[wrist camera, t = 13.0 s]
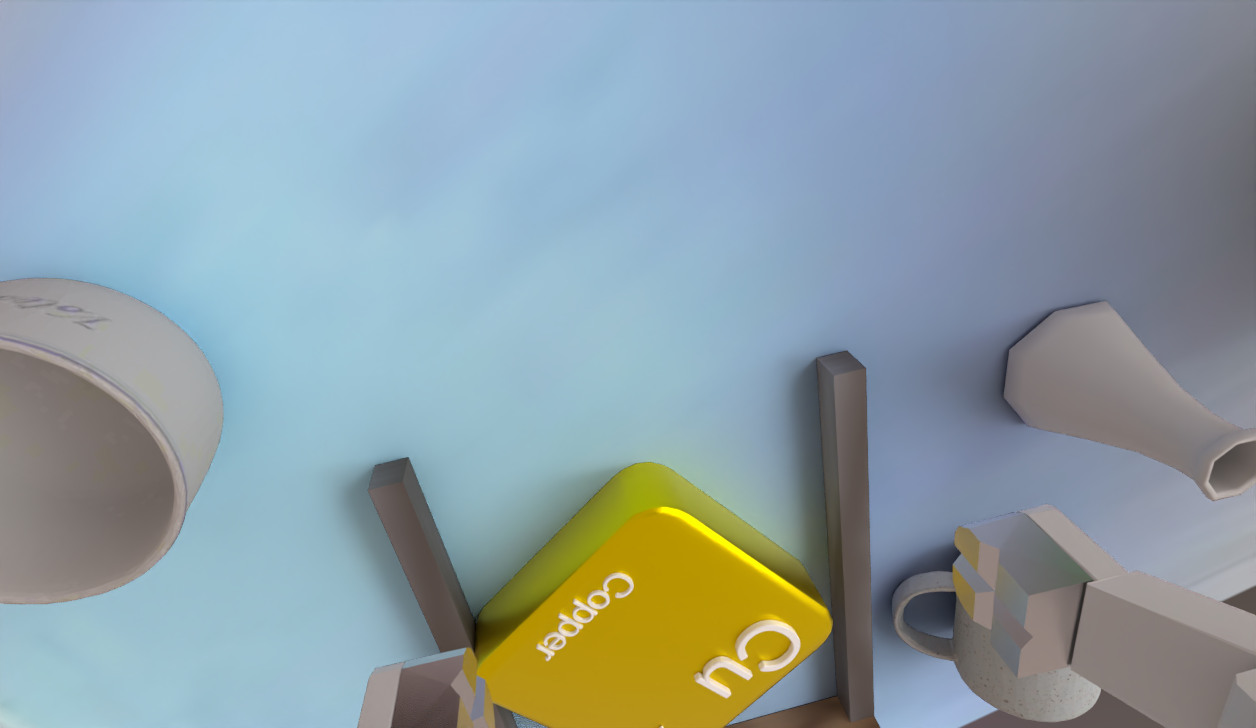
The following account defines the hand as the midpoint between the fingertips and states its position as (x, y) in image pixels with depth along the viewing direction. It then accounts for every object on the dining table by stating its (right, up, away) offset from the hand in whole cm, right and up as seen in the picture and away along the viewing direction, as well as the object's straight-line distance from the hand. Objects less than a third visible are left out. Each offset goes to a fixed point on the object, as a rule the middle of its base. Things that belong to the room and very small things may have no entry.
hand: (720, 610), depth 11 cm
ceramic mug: (+20, -10, +32) cm, 39 cm away
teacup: (-25, +3, +18) cm, 31 cm away
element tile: (0, -10, +29) cm, 30 cm away
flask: (+22, +4, +26) cm, 34 cm away
